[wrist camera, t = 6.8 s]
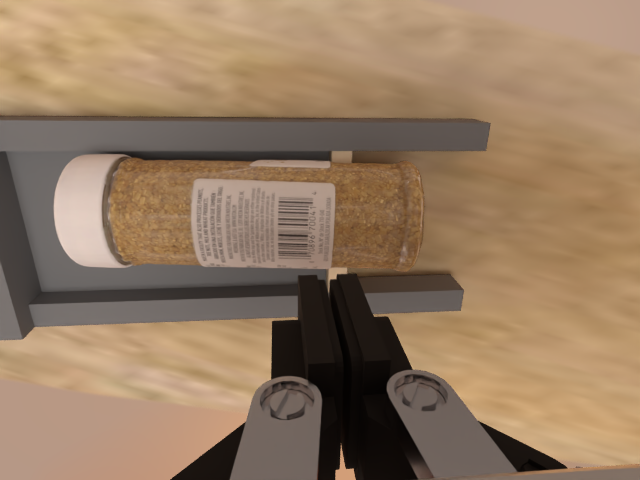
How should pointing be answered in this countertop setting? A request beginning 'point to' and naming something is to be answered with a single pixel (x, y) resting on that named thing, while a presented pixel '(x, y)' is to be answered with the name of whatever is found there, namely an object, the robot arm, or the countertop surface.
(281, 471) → the robot arm
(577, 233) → the countertop surface
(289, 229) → the sprinkles bottle
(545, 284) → the countertop surface
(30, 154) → the tray
